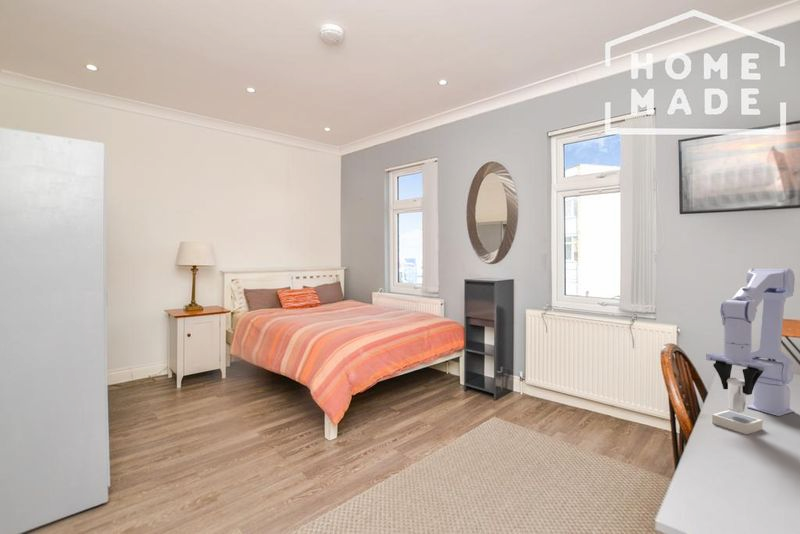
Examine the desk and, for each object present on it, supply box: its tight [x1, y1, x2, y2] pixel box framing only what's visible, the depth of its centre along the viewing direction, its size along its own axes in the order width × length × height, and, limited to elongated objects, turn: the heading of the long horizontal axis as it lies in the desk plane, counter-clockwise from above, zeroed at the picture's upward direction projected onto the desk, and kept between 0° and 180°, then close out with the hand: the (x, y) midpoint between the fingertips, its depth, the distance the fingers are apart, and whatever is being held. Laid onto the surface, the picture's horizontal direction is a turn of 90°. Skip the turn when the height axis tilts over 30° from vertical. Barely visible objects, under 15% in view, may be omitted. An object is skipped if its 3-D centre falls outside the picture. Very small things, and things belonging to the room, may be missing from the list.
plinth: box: [711, 409, 764, 435], centre depth 108 cm, size 8×8×3 cm
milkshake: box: [726, 377, 747, 414], centre depth 108 cm, size 4×5×10 cm
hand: (737, 391), depth 108 cm, fingers closed on milkshake, 4 cm apart
